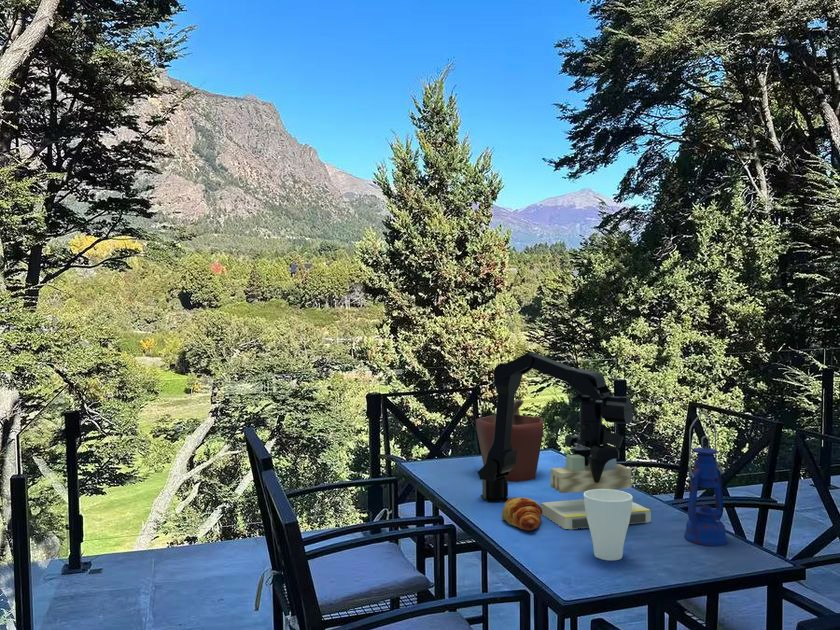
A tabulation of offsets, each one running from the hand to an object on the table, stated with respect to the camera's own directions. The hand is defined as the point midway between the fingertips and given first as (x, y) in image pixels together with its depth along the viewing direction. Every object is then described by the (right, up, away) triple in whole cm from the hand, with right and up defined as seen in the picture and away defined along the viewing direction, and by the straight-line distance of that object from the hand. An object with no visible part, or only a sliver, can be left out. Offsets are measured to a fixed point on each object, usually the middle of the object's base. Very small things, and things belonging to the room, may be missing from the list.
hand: (590, 479), depth 177 cm
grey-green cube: (-4, +3, -1) cm, 5 cm away
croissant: (-18, -11, -3) cm, 21 cm away
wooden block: (0, -2, 0) cm, 2 cm away
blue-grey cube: (+5, +3, +1) cm, 5 cm away
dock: (+1, -10, 0) cm, 10 cm away
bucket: (-14, -10, +47) cm, 50 cm away
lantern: (+23, -10, -17) cm, 30 cm away
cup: (-3, -10, -28) cm, 30 cm away
